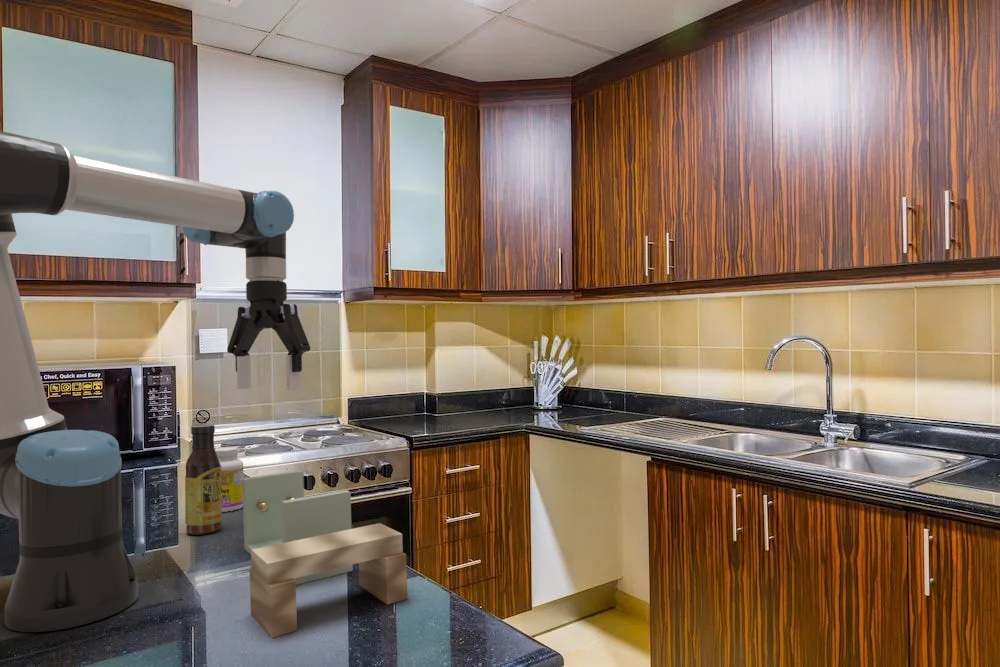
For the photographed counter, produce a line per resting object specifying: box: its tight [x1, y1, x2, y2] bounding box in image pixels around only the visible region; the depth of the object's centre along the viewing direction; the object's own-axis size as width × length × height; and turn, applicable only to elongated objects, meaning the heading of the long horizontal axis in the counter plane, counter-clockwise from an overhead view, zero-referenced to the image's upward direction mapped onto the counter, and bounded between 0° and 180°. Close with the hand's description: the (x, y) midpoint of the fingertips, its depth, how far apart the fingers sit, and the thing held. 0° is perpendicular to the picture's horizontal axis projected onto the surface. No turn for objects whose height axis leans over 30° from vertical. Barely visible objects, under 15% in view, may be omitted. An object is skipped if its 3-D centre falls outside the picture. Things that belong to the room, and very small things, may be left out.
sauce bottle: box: [184, 424, 223, 536], centre depth 125 cm, size 6×6×20 cm
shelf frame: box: [242, 469, 354, 586], centre depth 107 cm, size 23×10×12 cm, turn 36°
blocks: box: [249, 552, 408, 638], centre depth 87 cm, size 18×9×6 cm, turn 126°
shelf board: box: [250, 522, 404, 585], centre depth 87 cm, size 18×7×2 cm, turn 126°
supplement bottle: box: [214, 446, 244, 513], centre depth 141 cm, size 7×7×13 cm
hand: (268, 389), depth 130 cm, fingers open, 13 cm apart
